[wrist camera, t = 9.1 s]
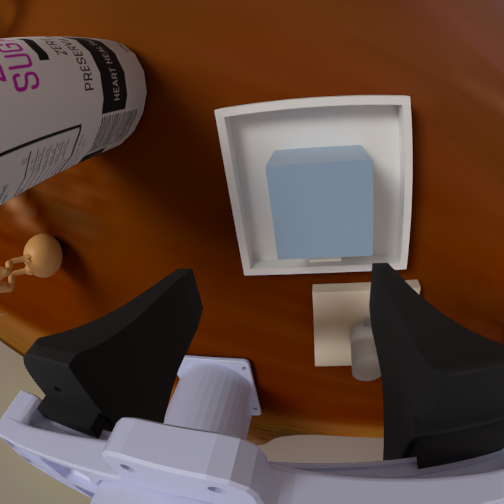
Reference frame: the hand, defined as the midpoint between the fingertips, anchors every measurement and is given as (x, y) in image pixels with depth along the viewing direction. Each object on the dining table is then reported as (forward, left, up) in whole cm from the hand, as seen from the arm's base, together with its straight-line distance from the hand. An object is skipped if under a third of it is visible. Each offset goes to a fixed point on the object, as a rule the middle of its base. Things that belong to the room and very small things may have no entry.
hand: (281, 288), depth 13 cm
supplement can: (+10, +12, -10) cm, 18 cm away
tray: (+1, -2, -9) cm, 10 cm away
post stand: (-10, -5, -9) cm, 15 cm away
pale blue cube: (+1, -2, -9) cm, 9 cm away
